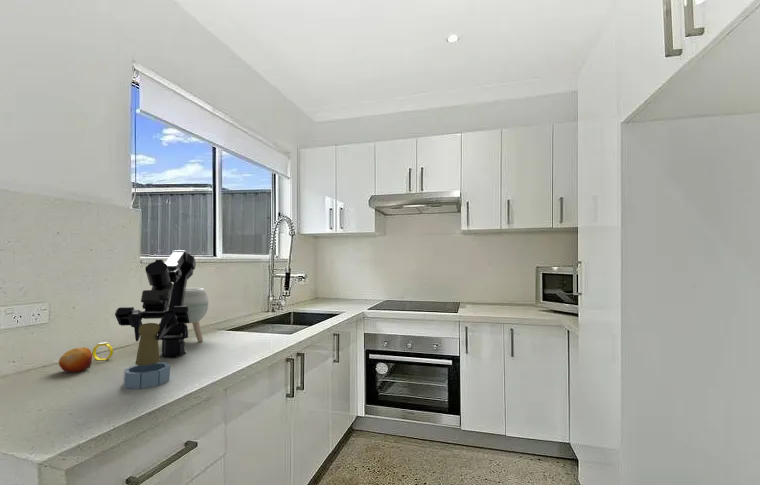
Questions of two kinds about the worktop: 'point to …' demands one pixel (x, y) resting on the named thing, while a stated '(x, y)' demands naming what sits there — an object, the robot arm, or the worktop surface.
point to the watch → (102, 345)
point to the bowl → (146, 375)
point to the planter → (196, 307)
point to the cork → (148, 344)
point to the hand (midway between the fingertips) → (147, 340)
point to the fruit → (76, 360)
